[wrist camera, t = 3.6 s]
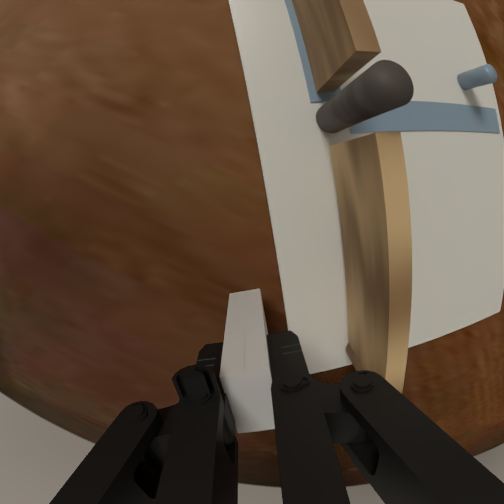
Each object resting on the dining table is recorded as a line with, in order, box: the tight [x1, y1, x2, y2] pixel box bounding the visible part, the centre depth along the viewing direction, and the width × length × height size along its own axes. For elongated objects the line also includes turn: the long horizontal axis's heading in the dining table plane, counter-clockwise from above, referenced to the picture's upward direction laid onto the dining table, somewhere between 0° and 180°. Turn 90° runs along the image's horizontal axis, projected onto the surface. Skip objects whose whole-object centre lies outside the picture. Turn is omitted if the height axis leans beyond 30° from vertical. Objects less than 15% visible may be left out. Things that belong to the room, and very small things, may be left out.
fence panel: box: [329, 132, 412, 394], centre depth 13 cm, size 12×1×6 cm, turn 10°
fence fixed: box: [292, 0, 414, 133], centre depth 10 cm, size 2×11×8 cm, turn 10°
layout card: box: [228, 0, 504, 374], centre depth 13 cm, size 18×25×3 cm
